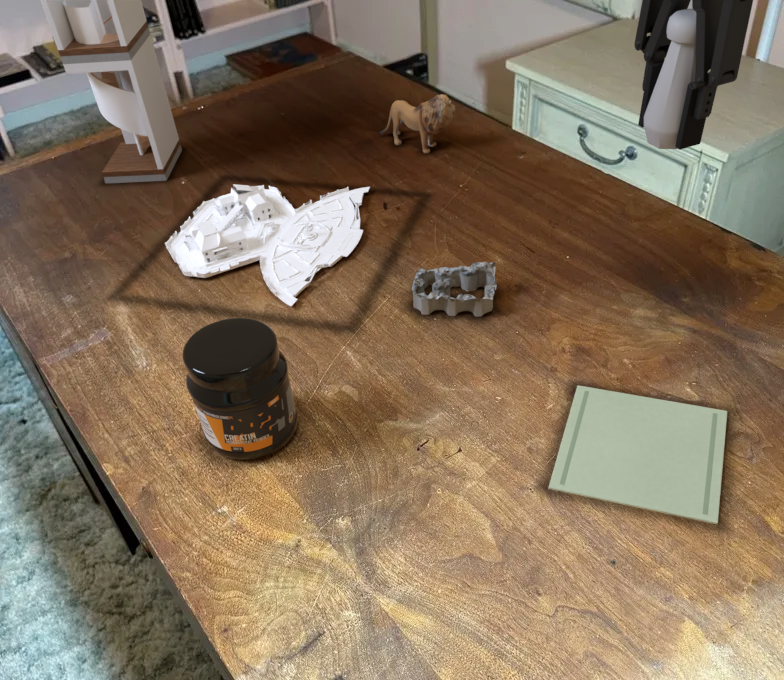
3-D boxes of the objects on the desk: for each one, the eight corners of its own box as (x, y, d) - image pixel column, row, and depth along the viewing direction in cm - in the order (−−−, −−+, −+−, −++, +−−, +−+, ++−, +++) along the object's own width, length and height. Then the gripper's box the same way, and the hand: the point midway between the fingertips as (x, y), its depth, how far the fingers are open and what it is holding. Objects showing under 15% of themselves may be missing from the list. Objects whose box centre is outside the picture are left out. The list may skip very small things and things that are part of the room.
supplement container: (193, 461, 83) (161, 377, 74) (221, 396, 90) (195, 312, 81) (287, 467, 81) (266, 381, 72) (308, 400, 88) (291, 314, 80)
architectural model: (130, 286, 106) (120, 259, 103) (231, 175, 127) (226, 151, 124) (316, 310, 99) (312, 282, 96) (391, 189, 120) (389, 163, 117)
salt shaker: (695, 153, 83) (725, 22, 73) (640, 152, 84) (663, 22, 74) (691, 130, 87) (719, 2, 77) (639, 129, 88) (660, 3, 78)
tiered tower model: (124, 153, 138) (48, -79, 112) (182, 150, 137) (118, -84, 112) (105, 183, 130) (19, -59, 105) (166, 180, 129) (94, -64, 104)
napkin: (577, 387, 87) (577, 384, 86) (726, 412, 82) (727, 410, 82) (548, 489, 77) (548, 487, 76) (717, 525, 72) (717, 522, 72)
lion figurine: (460, 145, 131) (459, 91, 124) (444, 158, 128) (443, 103, 121) (387, 131, 137) (383, 78, 130) (371, 143, 134) (366, 89, 127)
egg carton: (498, 287, 101) (499, 260, 98) (491, 321, 96) (492, 294, 93) (419, 282, 103) (418, 255, 100) (408, 315, 98) (407, 288, 95)
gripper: (620, -134, 73) (590, 112, 90) (762, -100, 61) (696, 177, 78) (685, -145, 75) (644, 97, 92) (835, -115, 63) (756, 159, 79)
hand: (668, 133), depth 85 cm, fingers closed on salt shaker, 6 cm apart
